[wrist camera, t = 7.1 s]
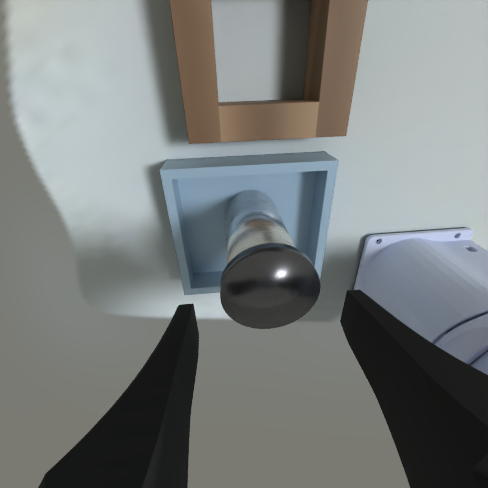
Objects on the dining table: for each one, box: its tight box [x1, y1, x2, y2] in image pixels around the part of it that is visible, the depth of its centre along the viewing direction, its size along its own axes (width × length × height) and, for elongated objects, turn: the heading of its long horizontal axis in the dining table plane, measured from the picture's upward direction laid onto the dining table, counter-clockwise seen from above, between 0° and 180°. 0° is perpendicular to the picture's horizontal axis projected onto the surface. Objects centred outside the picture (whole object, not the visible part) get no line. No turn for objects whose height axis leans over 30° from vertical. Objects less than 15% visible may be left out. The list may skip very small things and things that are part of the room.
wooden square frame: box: [170, 0, 368, 144], centre depth 14 cm, size 9×9×3 cm
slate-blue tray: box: [160, 151, 338, 295], centre depth 20 cm, size 11×10×2 cm
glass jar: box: [220, 190, 320, 329], centre depth 16 cm, size 5×5×9 cm
